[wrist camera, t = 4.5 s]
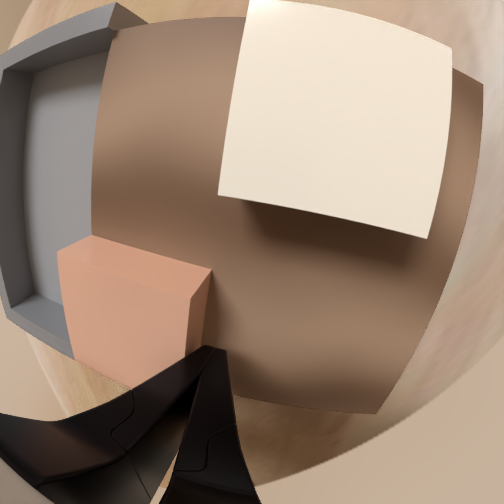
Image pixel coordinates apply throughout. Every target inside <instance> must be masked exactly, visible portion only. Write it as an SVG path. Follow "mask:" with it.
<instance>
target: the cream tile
mask: <svg viewBox="0 0 504 504" xmlns="http://www.w3.org/2000/svg"><path fill="white" fill-rule="evenodd" d="M451 97H452V48H450V47H448V46H445V45H443V44H441V43H439V42H437V41H435V40H433V39H430V38H428V37H426V36H423V35H421V34H418V33H416V32H413V31H411V30H408V29H405V28H403V27H400V26H397V25H394V24H391V23H388V22H385V21H382V20H379V19H375V18H372V17H368V16H364V15H361V14H357V13H353V12H348V11H344V10H339V9H335V8H329V7H324V6H318V5H312V4H305V3H297V2H288V1H276V0H250V3H249V8H248V12H247V17H246V22H245V27H244V32H243V37H242V42H241V47H240V53H239V58H238V63H237V69H236V75H235V80H234V86H233V92H232V98H231V104H230V110H229V117H228V123H227V130H226V137H225V144H224V151H223V158H222V165H221V173H220V180H219V188H218V195H221V196H227V197H233V198H239V199H245V200H251V201H257V202H262V203H268V204H273V205H279V206H284V207H289V208H295V209H300V210H305V211H310V212H315V213H319V214H324V215H329V216H334V217H338V218H343V219H347V220H352V221H356V222H361V223H365V224H369V225H374V226H378V227H382V228H386V229H390V230H394V231H398V232H402V233H406V234H410V235H414V236H418V237H421V238H425V239H427V237H428V234H429V230H430V226H431V223H432V219H433V215H434V211H435V207H436V203H437V198H438V194H439V189H440V184H441V179H442V174H443V168H444V162H445V156H446V149H447V142H448V133H449V124H450V113H451Z"/></svg>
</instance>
